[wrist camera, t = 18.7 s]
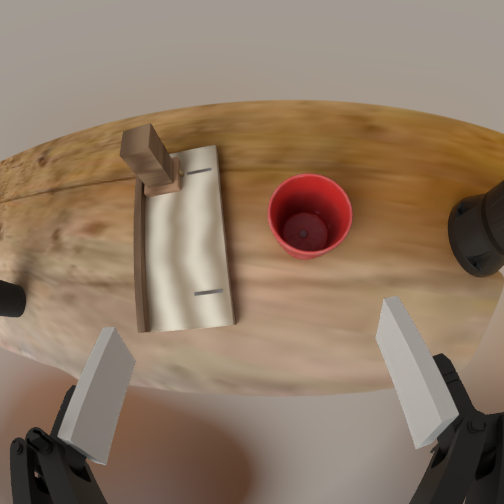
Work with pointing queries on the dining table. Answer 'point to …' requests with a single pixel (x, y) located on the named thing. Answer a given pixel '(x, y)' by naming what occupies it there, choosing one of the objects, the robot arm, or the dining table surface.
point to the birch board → (183, 251)
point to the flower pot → (309, 215)
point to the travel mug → (11, 300)
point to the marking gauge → (151, 161)
